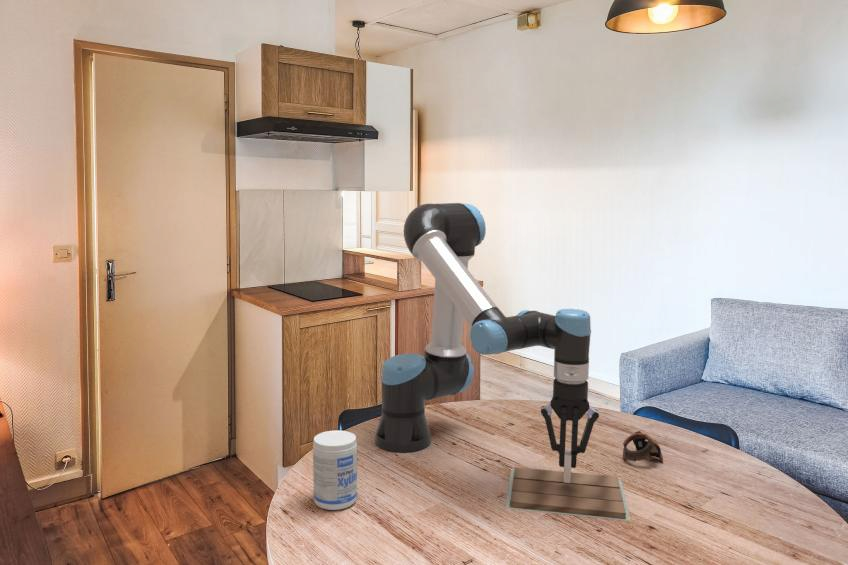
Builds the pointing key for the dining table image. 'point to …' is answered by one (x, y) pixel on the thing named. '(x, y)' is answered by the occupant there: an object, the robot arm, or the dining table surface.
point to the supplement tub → (335, 469)
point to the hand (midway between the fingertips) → (566, 480)
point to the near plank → (567, 490)
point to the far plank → (558, 478)
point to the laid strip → (568, 504)
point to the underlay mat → (566, 512)
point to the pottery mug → (641, 448)
